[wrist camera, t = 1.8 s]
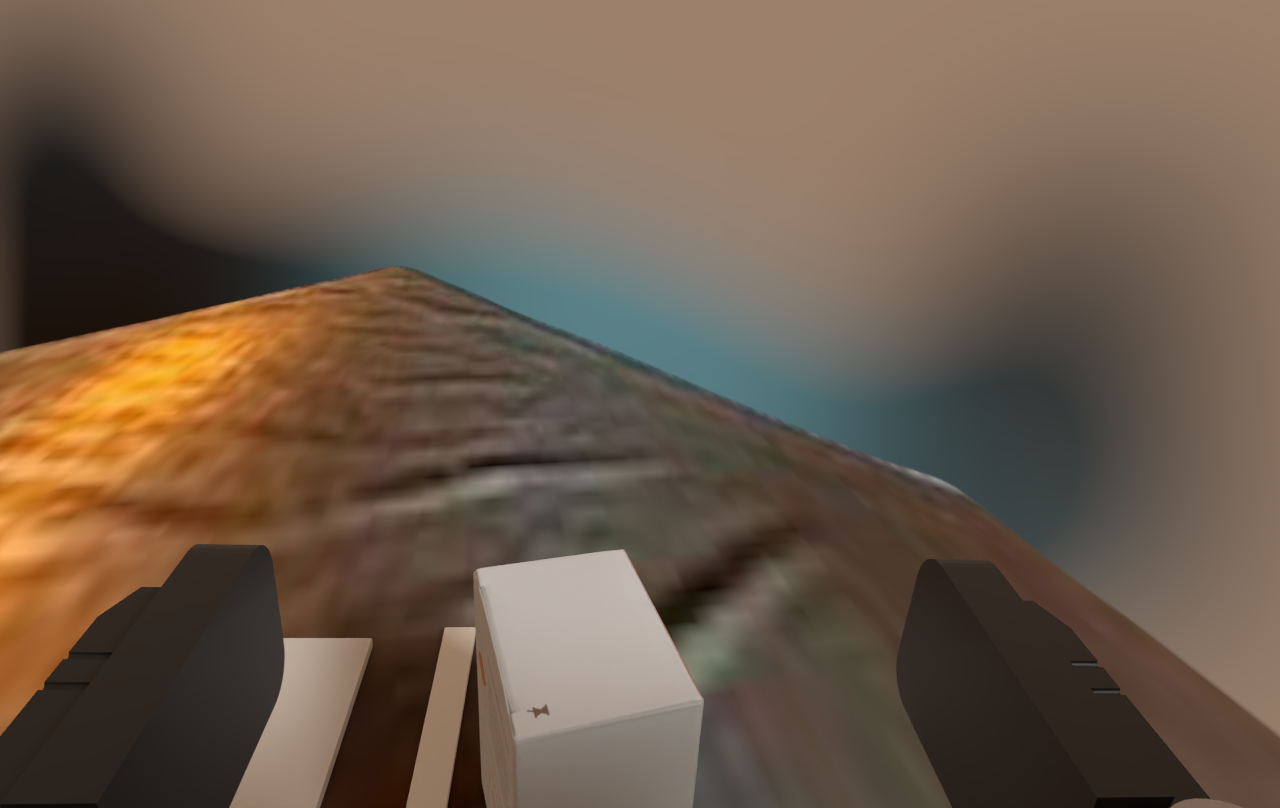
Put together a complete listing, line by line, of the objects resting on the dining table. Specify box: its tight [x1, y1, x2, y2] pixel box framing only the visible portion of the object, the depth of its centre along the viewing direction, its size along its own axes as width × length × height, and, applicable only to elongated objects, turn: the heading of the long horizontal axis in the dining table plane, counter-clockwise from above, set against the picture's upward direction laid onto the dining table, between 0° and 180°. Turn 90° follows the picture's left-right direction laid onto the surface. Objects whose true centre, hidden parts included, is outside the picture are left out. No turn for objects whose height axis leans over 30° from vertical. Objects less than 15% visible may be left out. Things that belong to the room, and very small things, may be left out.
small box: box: [473, 549, 704, 808], centre depth 28 cm, size 8×6×10 cm
